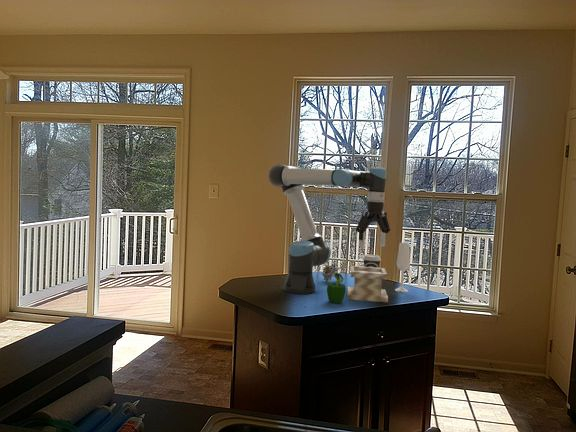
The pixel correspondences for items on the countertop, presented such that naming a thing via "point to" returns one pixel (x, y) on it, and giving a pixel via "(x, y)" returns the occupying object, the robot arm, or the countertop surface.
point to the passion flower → (331, 273)
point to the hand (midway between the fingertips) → (371, 246)
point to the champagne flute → (403, 262)
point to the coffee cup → (372, 261)
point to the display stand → (368, 284)
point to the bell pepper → (336, 292)
